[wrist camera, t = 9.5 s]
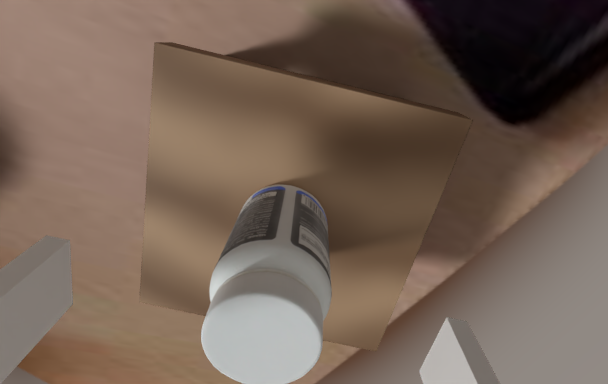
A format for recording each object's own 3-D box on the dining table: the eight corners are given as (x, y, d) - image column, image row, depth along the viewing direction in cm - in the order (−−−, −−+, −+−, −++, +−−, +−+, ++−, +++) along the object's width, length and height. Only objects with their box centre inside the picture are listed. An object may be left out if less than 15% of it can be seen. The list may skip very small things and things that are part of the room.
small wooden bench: (206, 42, 23) (154, 42, 16) (426, 96, 24) (472, 120, 17) (185, 236, 29) (139, 302, 22) (362, 275, 30) (376, 351, 22)
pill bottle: (237, 253, 20) (185, 385, 12) (244, 175, 18) (188, 273, 10) (320, 265, 20) (320, 405, 12) (335, 189, 18) (347, 297, 11)
